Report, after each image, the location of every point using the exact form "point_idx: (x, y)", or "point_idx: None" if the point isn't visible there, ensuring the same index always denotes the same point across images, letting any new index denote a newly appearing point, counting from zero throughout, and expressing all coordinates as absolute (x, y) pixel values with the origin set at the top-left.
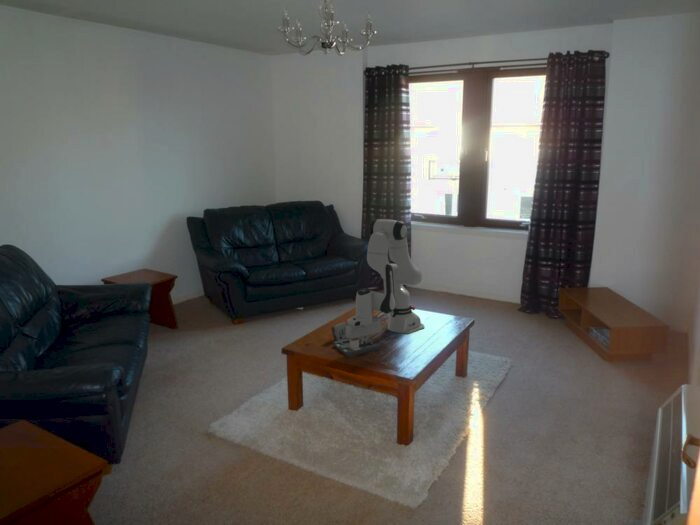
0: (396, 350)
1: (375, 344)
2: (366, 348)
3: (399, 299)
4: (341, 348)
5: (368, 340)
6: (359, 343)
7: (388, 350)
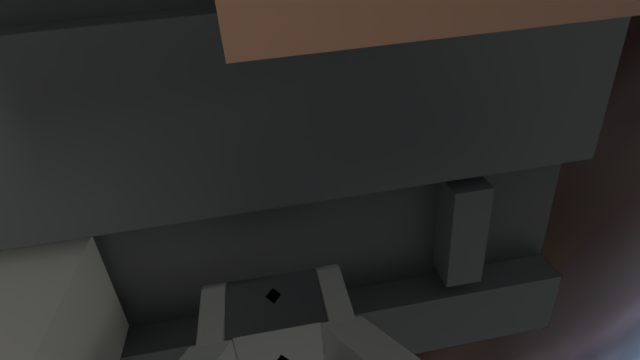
0: (627, 344)
1: (490, 297)
2: None
3: None
4: None
5: (513, 70)
6: (211, 168)
7: (558, 326)
